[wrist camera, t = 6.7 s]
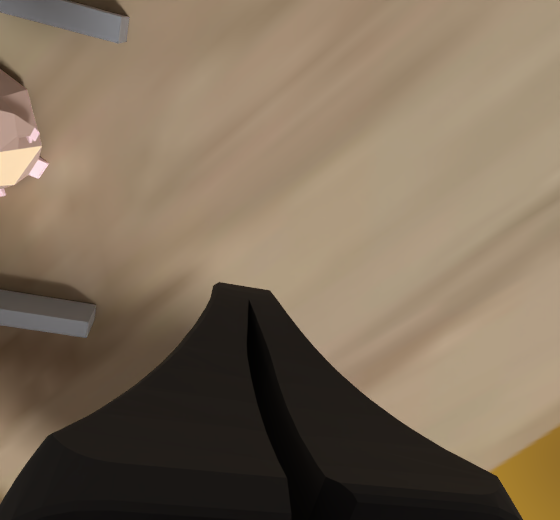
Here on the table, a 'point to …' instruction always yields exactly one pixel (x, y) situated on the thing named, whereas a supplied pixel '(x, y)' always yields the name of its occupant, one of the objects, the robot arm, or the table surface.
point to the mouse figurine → (17, 135)
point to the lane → (32, 308)
